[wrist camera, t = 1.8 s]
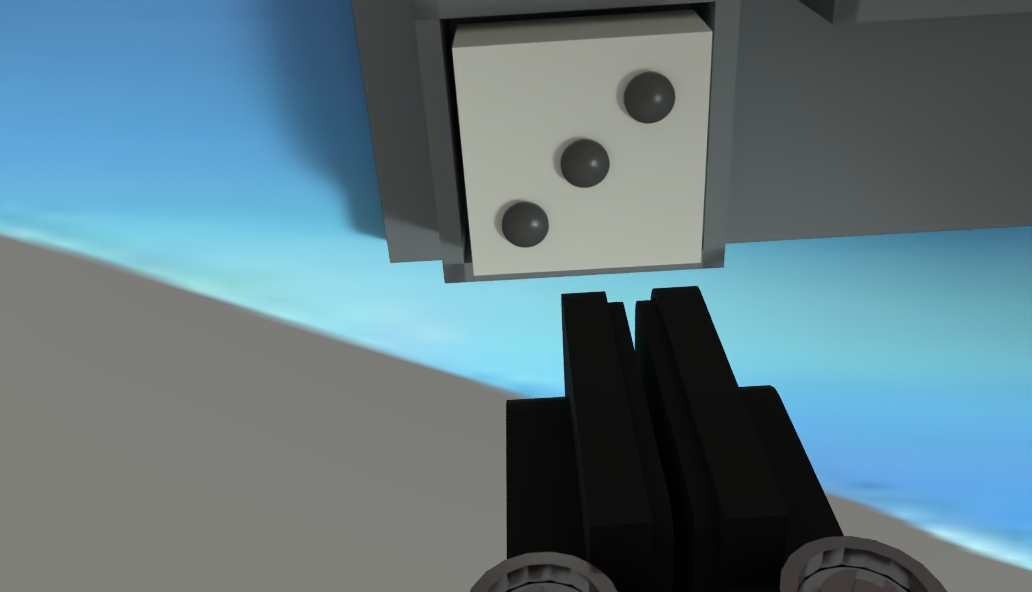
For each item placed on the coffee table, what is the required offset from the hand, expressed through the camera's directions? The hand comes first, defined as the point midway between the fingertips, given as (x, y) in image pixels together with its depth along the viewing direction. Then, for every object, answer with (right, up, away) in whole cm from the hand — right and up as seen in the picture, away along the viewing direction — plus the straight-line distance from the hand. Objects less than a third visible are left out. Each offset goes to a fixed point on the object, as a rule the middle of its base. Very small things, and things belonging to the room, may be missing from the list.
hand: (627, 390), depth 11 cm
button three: (0, +5, +9) cm, 10 cm away
